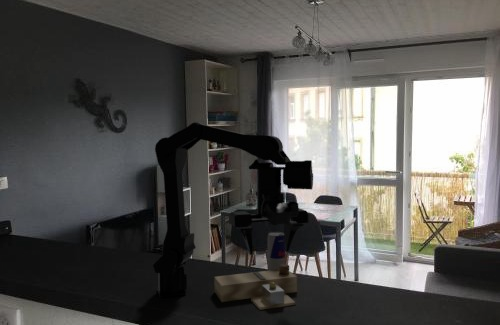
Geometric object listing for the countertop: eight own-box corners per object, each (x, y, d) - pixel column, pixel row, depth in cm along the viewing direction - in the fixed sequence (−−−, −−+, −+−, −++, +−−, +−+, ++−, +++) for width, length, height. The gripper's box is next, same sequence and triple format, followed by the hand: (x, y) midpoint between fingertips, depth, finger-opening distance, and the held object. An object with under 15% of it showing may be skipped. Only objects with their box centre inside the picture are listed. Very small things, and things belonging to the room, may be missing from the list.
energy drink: (284, 278, 116) (284, 236, 116) (266, 277, 117) (266, 235, 117) (287, 272, 121) (287, 232, 121) (269, 271, 123) (269, 231, 122)
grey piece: (270, 305, 95) (270, 287, 95) (261, 296, 101) (261, 280, 100) (284, 303, 97) (284, 285, 96) (275, 295, 102) (275, 278, 101)
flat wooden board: (259, 309, 94) (259, 307, 94) (251, 300, 100) (251, 298, 100) (295, 304, 97) (295, 302, 97) (285, 295, 103) (285, 293, 103)
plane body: (221, 302, 99) (221, 277, 99) (214, 292, 106) (214, 269, 105) (296, 291, 106) (296, 268, 105) (285, 283, 112) (285, 261, 112)
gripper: (242, 193, 87) (242, 266, 88) (320, 190, 93) (319, 258, 94) (228, 188, 98) (228, 252, 99) (299, 185, 104) (298, 246, 105)
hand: (268, 252), depth 99 cm, fingers open, 9 cm apart
